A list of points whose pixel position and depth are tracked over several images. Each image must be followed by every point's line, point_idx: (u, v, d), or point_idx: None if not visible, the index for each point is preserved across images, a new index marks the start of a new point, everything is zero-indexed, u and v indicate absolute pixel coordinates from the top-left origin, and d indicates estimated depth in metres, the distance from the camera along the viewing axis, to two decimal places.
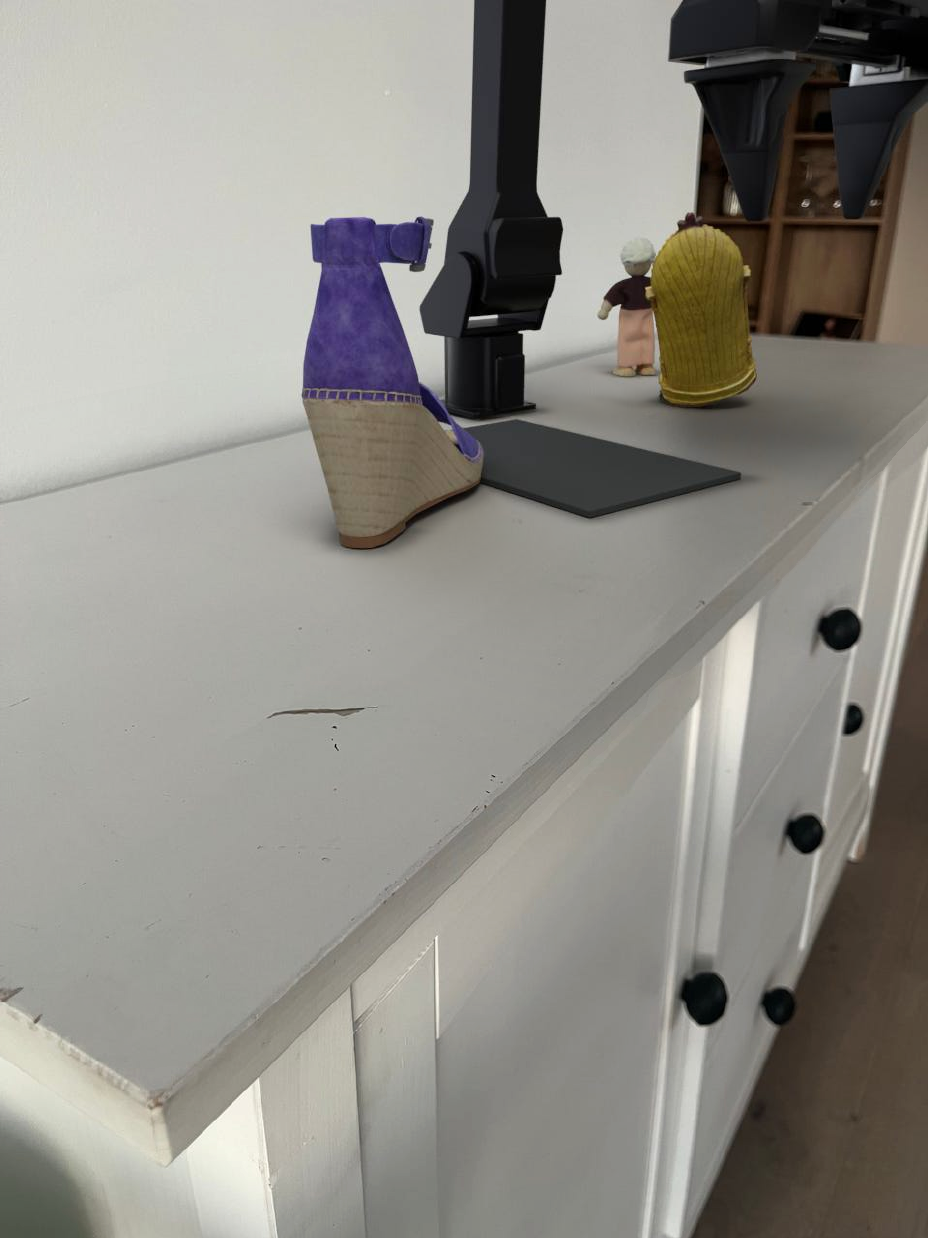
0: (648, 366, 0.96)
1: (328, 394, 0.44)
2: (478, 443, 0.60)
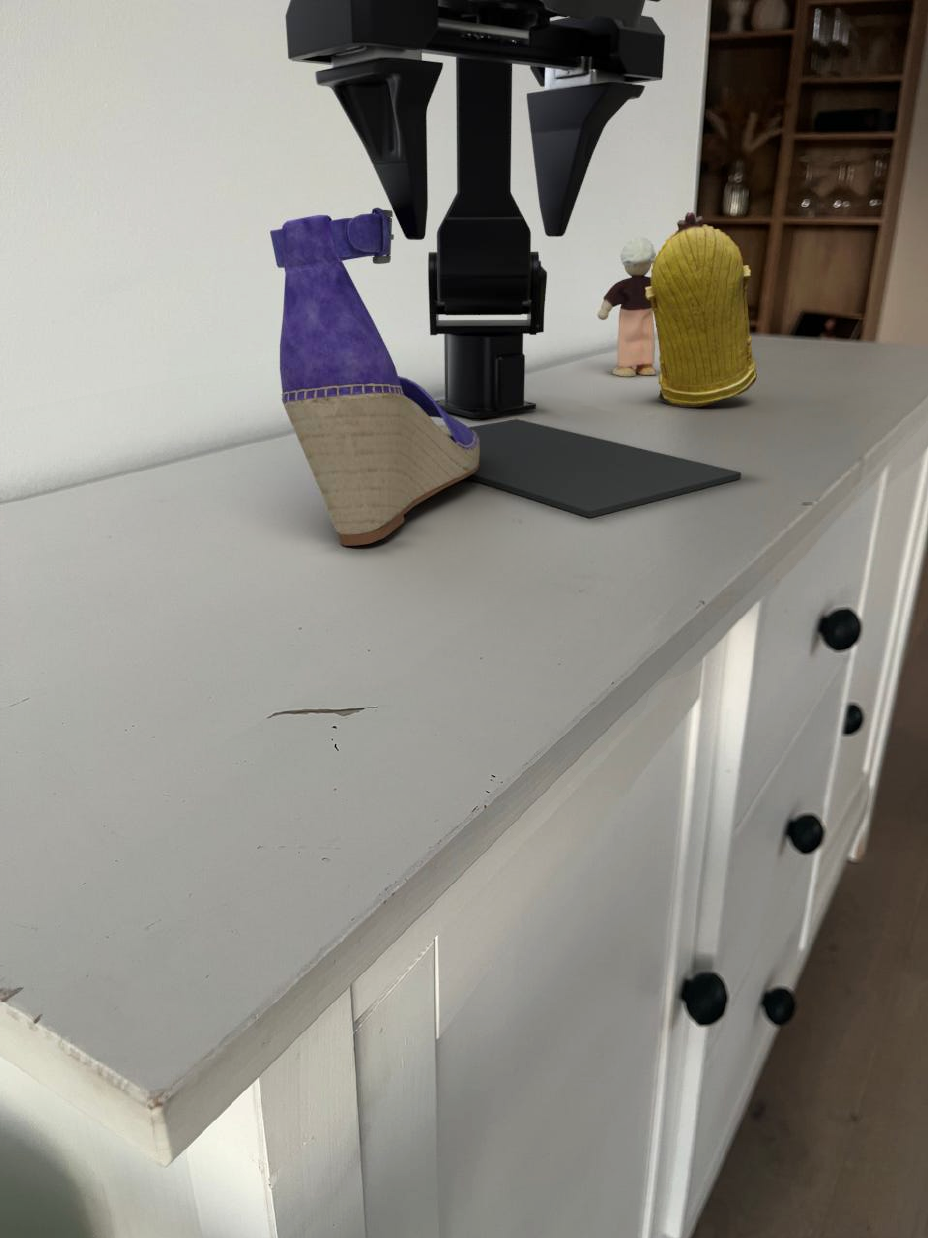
0: (648, 366, 0.96)
1: (306, 394, 0.44)
2: (473, 432, 0.60)
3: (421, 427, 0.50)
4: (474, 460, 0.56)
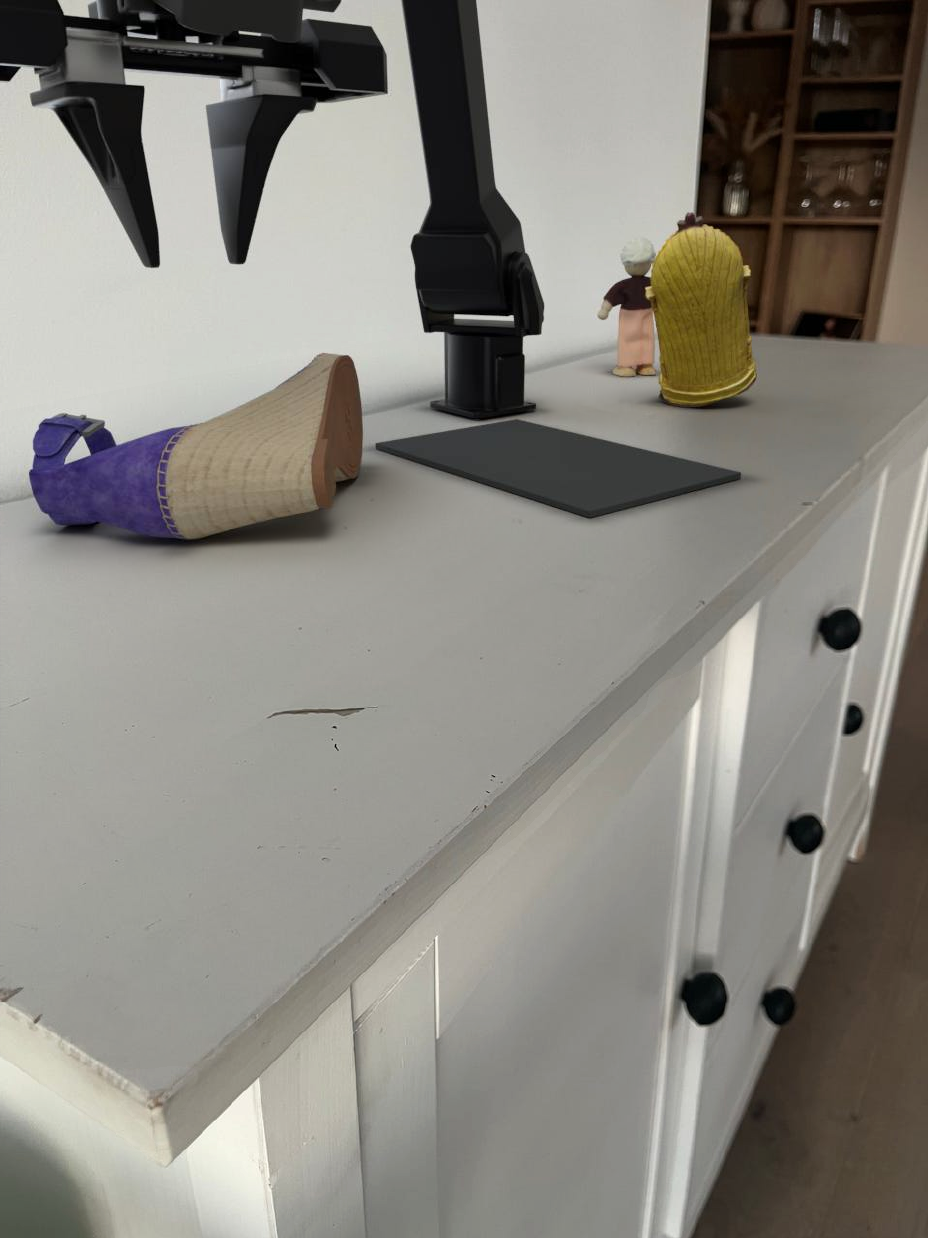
0: (648, 366, 0.96)
1: (167, 515, 0.47)
2: None
3: (253, 409, 0.51)
4: (325, 359, 0.55)
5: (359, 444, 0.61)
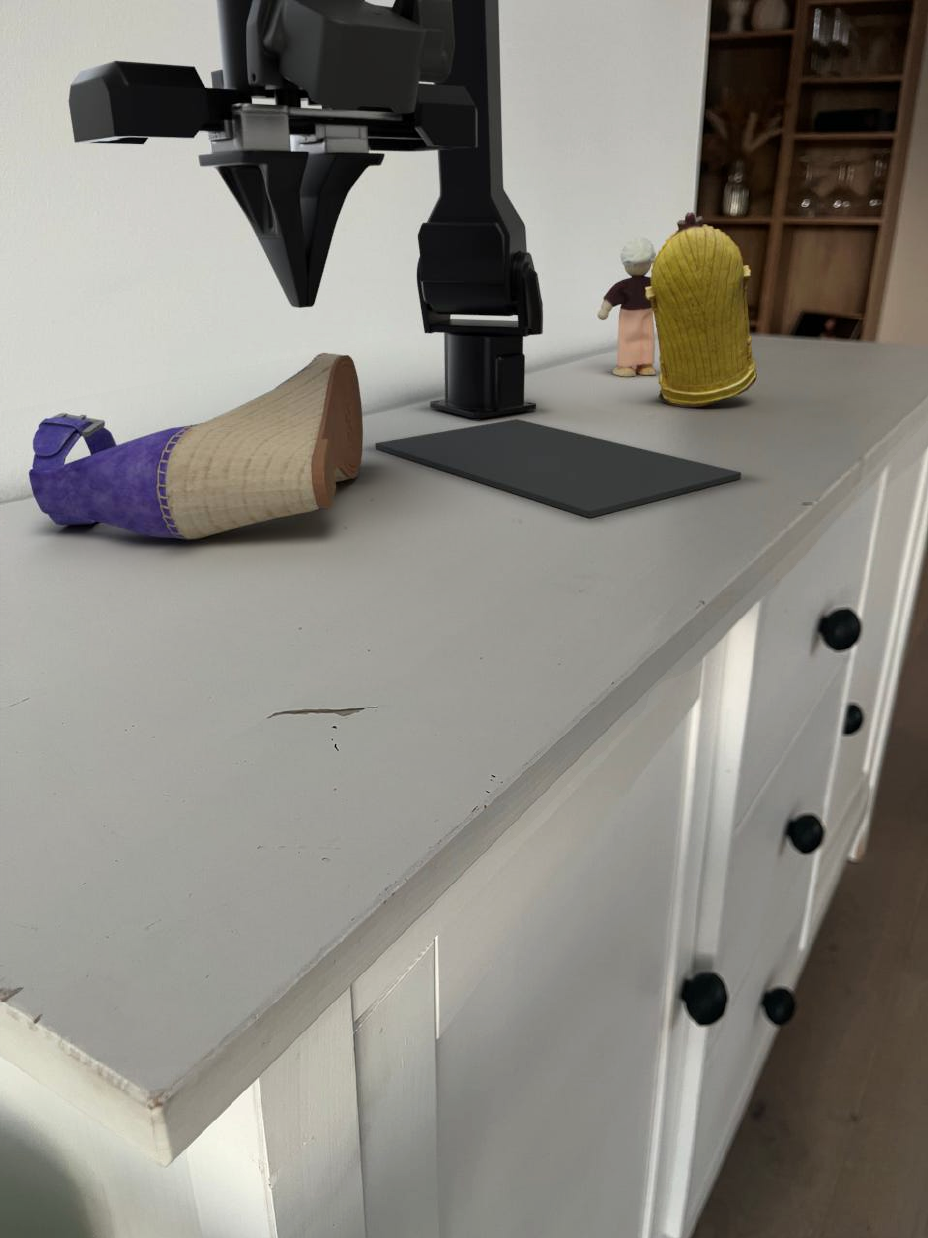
0: (648, 366, 0.96)
1: (167, 515, 0.47)
2: None
3: (253, 409, 0.51)
4: (325, 359, 0.55)
5: (359, 444, 0.61)
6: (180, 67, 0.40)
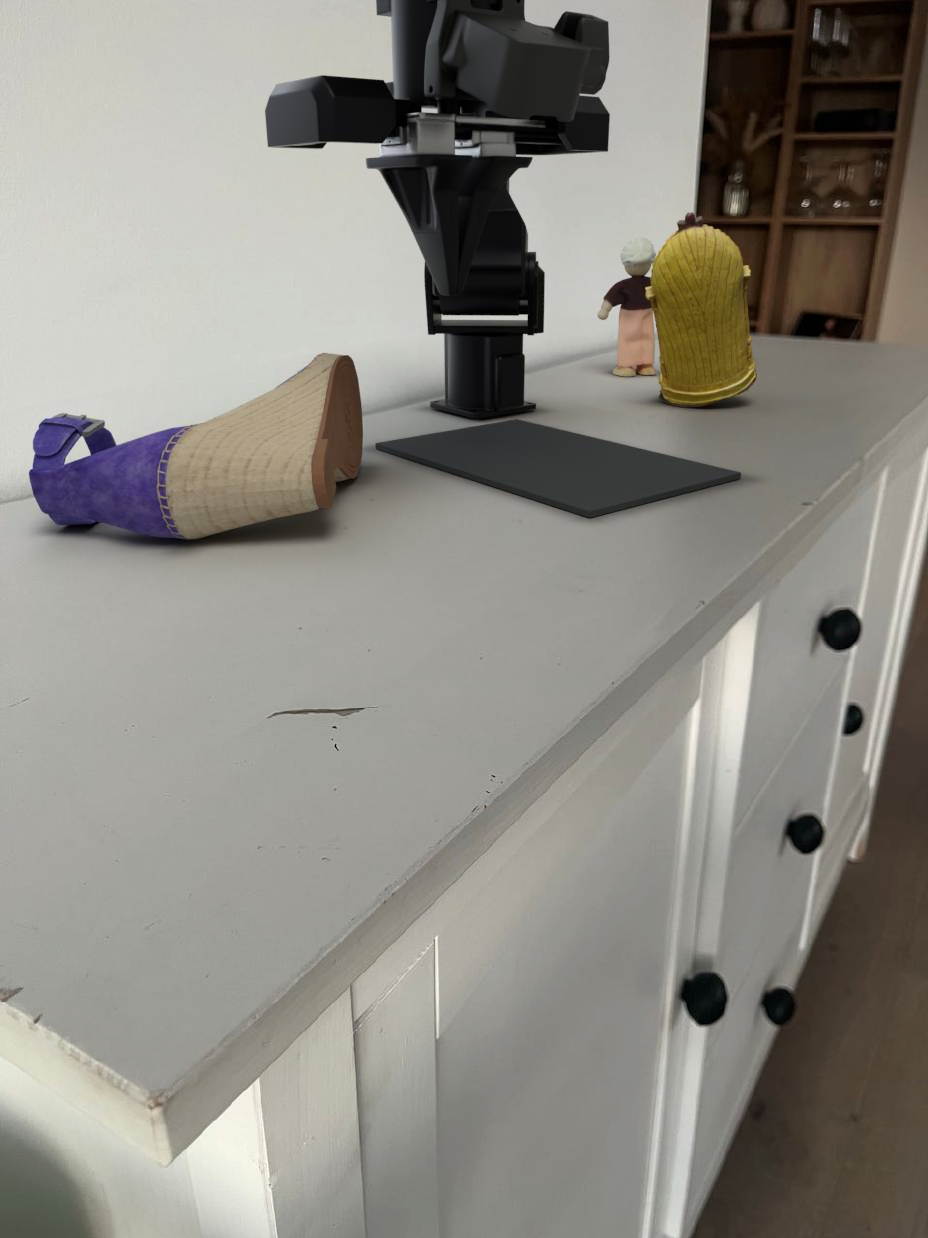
0: (648, 366, 0.96)
1: (167, 515, 0.47)
2: None
3: (253, 409, 0.51)
4: (325, 359, 0.55)
5: (359, 444, 0.61)
6: (372, 80, 0.45)
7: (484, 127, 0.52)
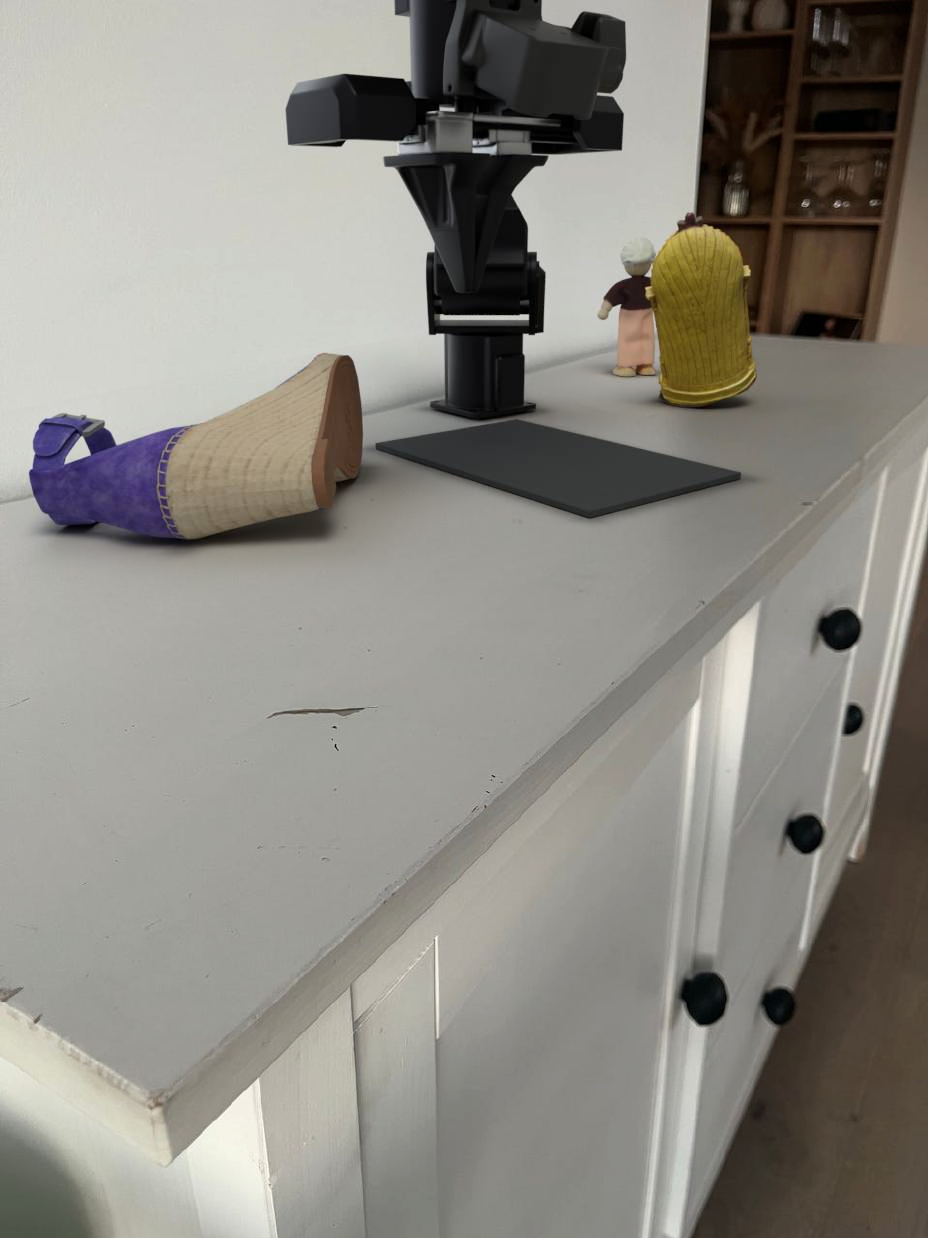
0: (648, 366, 0.96)
1: (167, 515, 0.47)
2: None
3: (253, 409, 0.51)
4: (325, 359, 0.55)
5: (359, 444, 0.61)
6: (393, 79, 0.46)
7: (500, 126, 0.52)
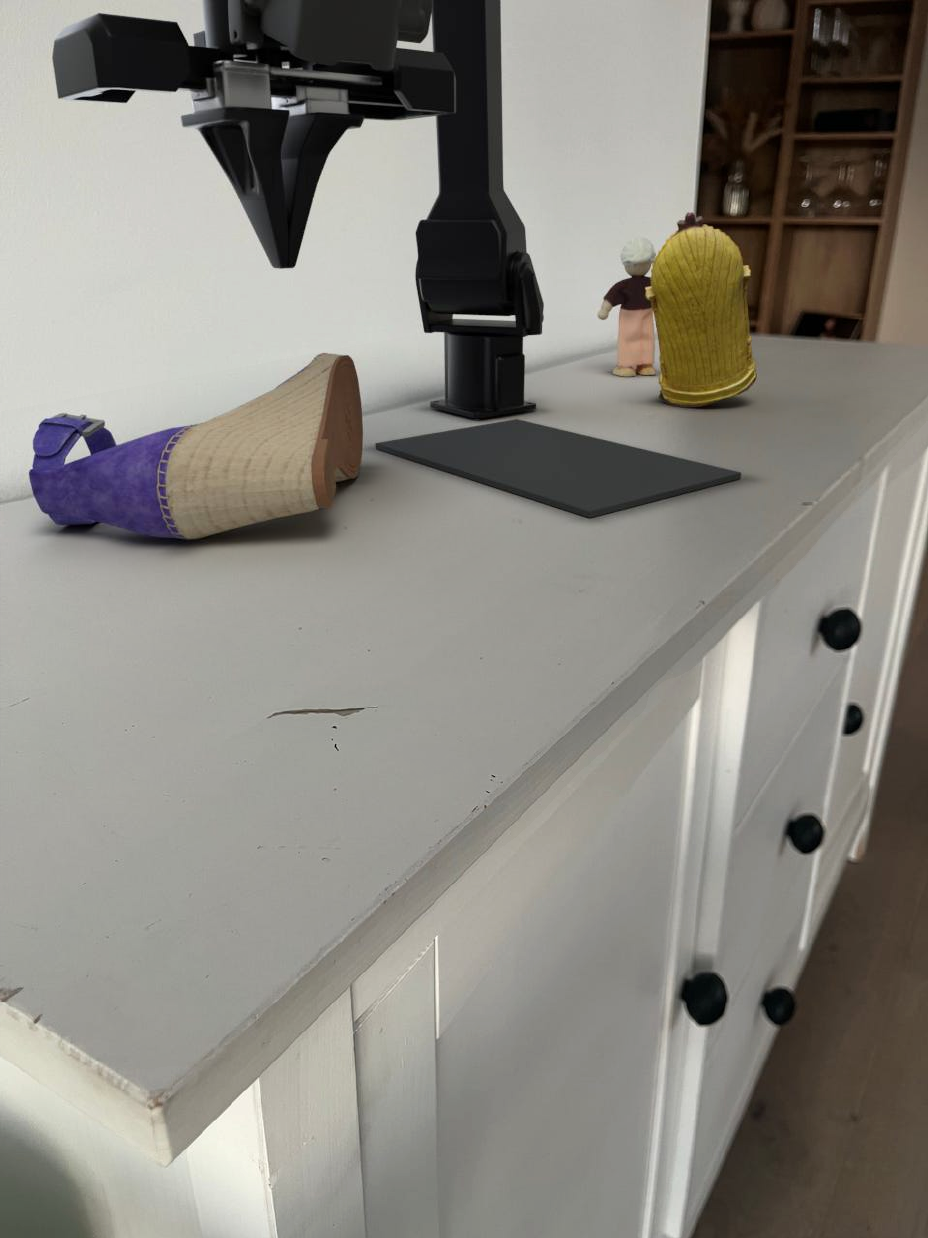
0: (648, 366, 0.96)
1: (167, 515, 0.47)
2: None
3: (253, 409, 0.51)
4: (325, 359, 0.55)
5: (359, 444, 0.61)
6: (162, 22, 0.41)
7: (312, 83, 0.47)
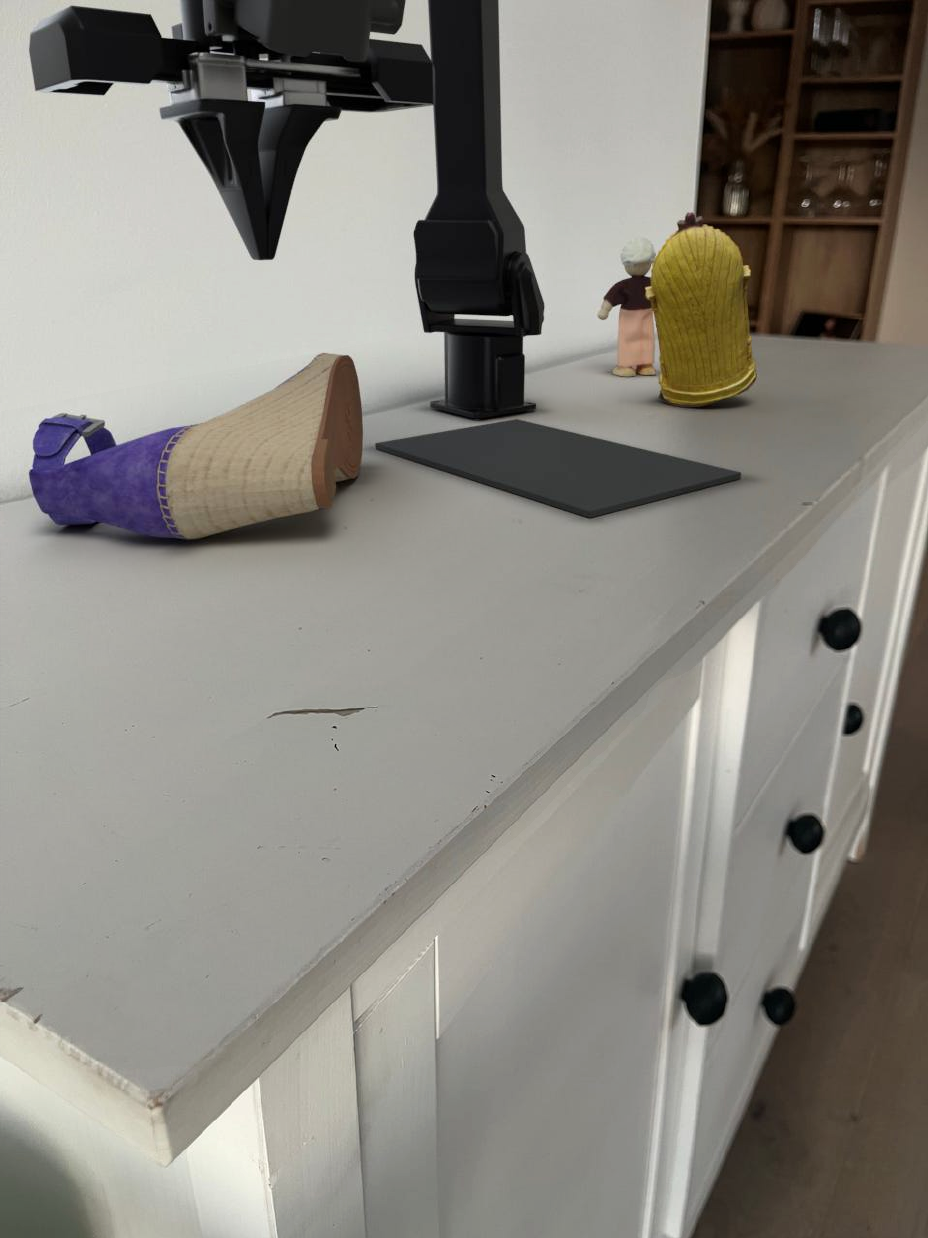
0: (648, 366, 0.96)
1: (167, 515, 0.47)
2: None
3: (253, 409, 0.51)
4: (325, 359, 0.55)
5: (359, 444, 0.61)
6: (136, 14, 0.41)
7: (290, 75, 0.47)
